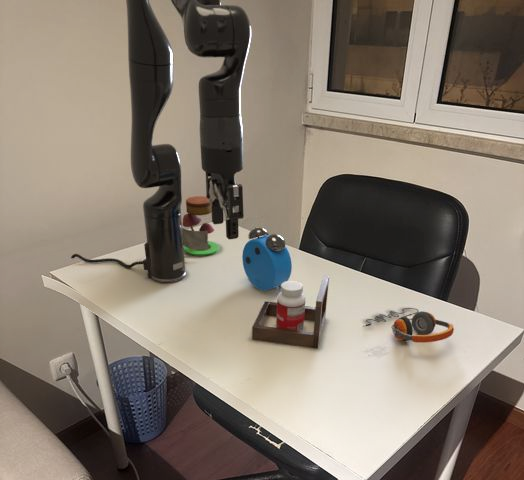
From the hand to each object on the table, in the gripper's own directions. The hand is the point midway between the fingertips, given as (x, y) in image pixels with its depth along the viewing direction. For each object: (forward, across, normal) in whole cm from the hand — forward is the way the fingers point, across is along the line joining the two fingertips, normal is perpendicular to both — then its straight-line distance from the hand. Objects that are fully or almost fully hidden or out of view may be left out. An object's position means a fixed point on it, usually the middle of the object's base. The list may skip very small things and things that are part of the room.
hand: (225, 230), depth 98 cm
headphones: (+24, +14, +37) cm, 47 cm away
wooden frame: (+24, +3, +13) cm, 28 cm away
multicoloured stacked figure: (+24, -50, +8) cm, 56 cm away
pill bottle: (+24, +3, +13) cm, 28 cm away
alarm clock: (+24, -19, +17) cm, 35 cm away
